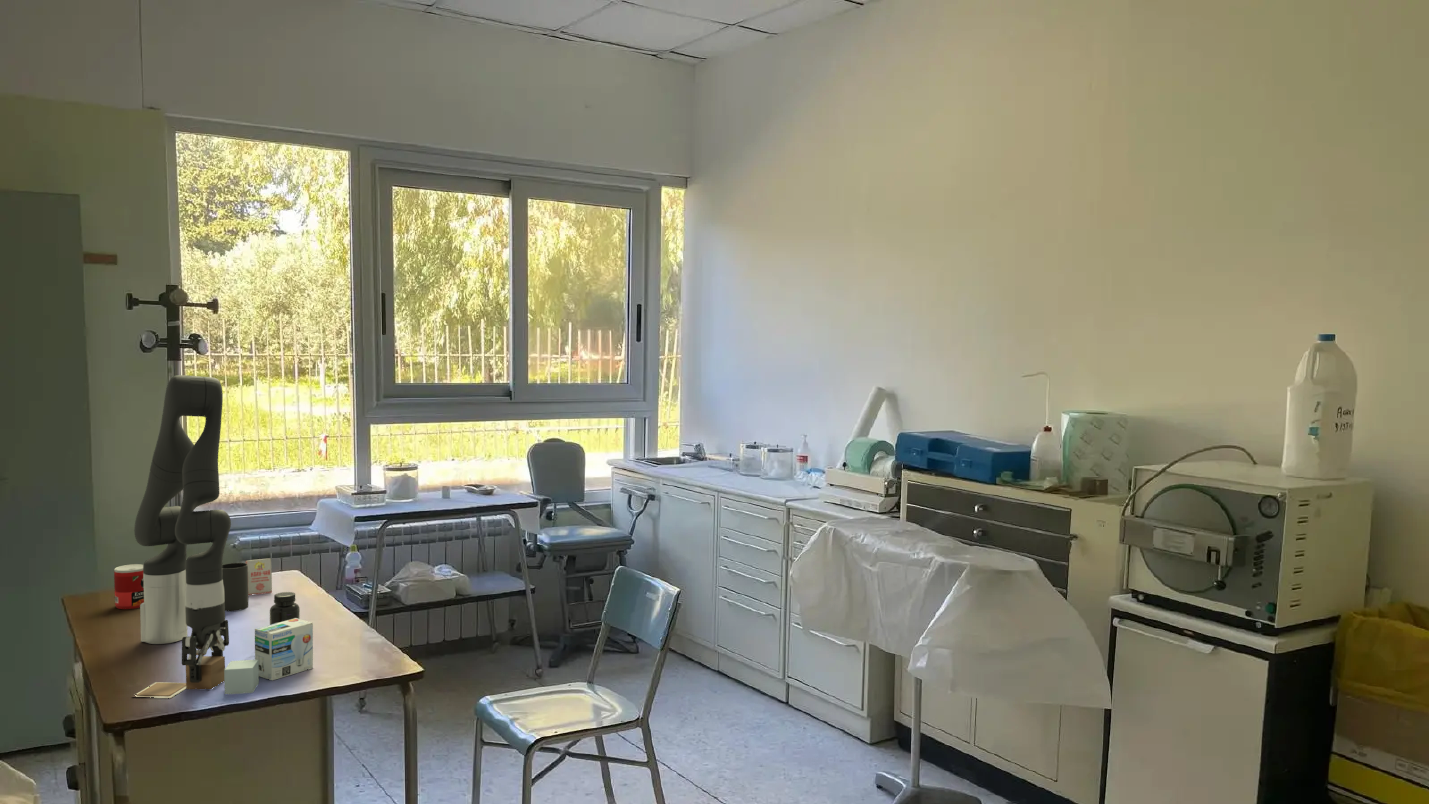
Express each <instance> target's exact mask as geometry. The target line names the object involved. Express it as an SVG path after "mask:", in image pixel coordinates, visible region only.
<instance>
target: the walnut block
mask: <svg viewBox="0 0 1429 804" xmlns="http://www.w3.org/2000/svg"><path fill="white" fill-rule="evenodd" d="M196 660H197V657H196ZM200 665H201V671H202V680H201V681H200V682H199V683H191V682H190V676H189V666H188V665H185V683H186V689H185V690H200V689H212V688H213V687H215V686H216V687H218V686H219V685H220V683H221V682H222V683H224V682H223V681H224V669H225V668H226V656H224V655H223V656H211V655H204V656H203V658H202V661H201V664H200ZM222 683H221V684H222ZM218 684H219V685H218ZM216 687H215V688H216ZM213 689H214V688H213ZM213 689H212V690H213Z"/></svg>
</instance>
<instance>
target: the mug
mask: <svg viewBox="0 0 1429 804" xmlns="http://www.w3.org/2000/svg"><path fill="white" fill-rule="evenodd" d="M222 568H223V585H224V598H225V612H236V611H242V610H246V609H247V608H248V607H249V595H248V564H246V562H230V563H225V564H222Z"/></svg>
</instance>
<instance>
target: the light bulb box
mask: <svg viewBox="0 0 1429 804" xmlns="http://www.w3.org/2000/svg"><path fill="white" fill-rule="evenodd" d="M313 629H314V625H313V622H311V621H307V620H304V619H301V618H300V619H298V618H294V619H291V620H287V621H283V622H279V623H275V624H272V625H270V624H269V625H265V626H261V627H257V628H254V660H257V659H258V664H259V678H260V677H261V678H263V679H266V680H268V679H269V680H268V681H271V680H272V681H275V680H276V681H277V680H278V679H281V678H284V677H288V676H291V675H296V674H298V673H301V672H305V671H307V669H308V670H312V669H314V658H313V657H314V654H313V653H314V650H313V649H314V647H313V646H314V643H313V641H314V638H313V637H314V636H313V635H314V631H313Z"/></svg>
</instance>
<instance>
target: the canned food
mask: <svg viewBox="0 0 1429 804" xmlns="http://www.w3.org/2000/svg"><path fill="white" fill-rule="evenodd" d="M143 565H144V564H138V563H134V564H133V563H132V564H126V565H120V566H117V567H115V568H114V569H113V573H114V575H113V578H114V579H113V580H114V581H113V582H114V583H113V584H114V585H113V586H114V606H115V608H116V609H119V610H134V609H139V608H140V605H141V604H142V603H144V578H143Z"/></svg>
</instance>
